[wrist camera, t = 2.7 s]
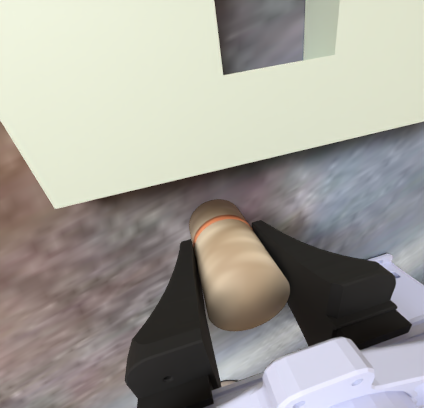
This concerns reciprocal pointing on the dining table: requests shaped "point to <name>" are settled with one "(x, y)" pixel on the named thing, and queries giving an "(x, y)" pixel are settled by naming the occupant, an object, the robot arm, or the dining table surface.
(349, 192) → the dining table surface
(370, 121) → the board
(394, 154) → the dining table surface
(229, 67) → the dining table surface
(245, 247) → the peg
